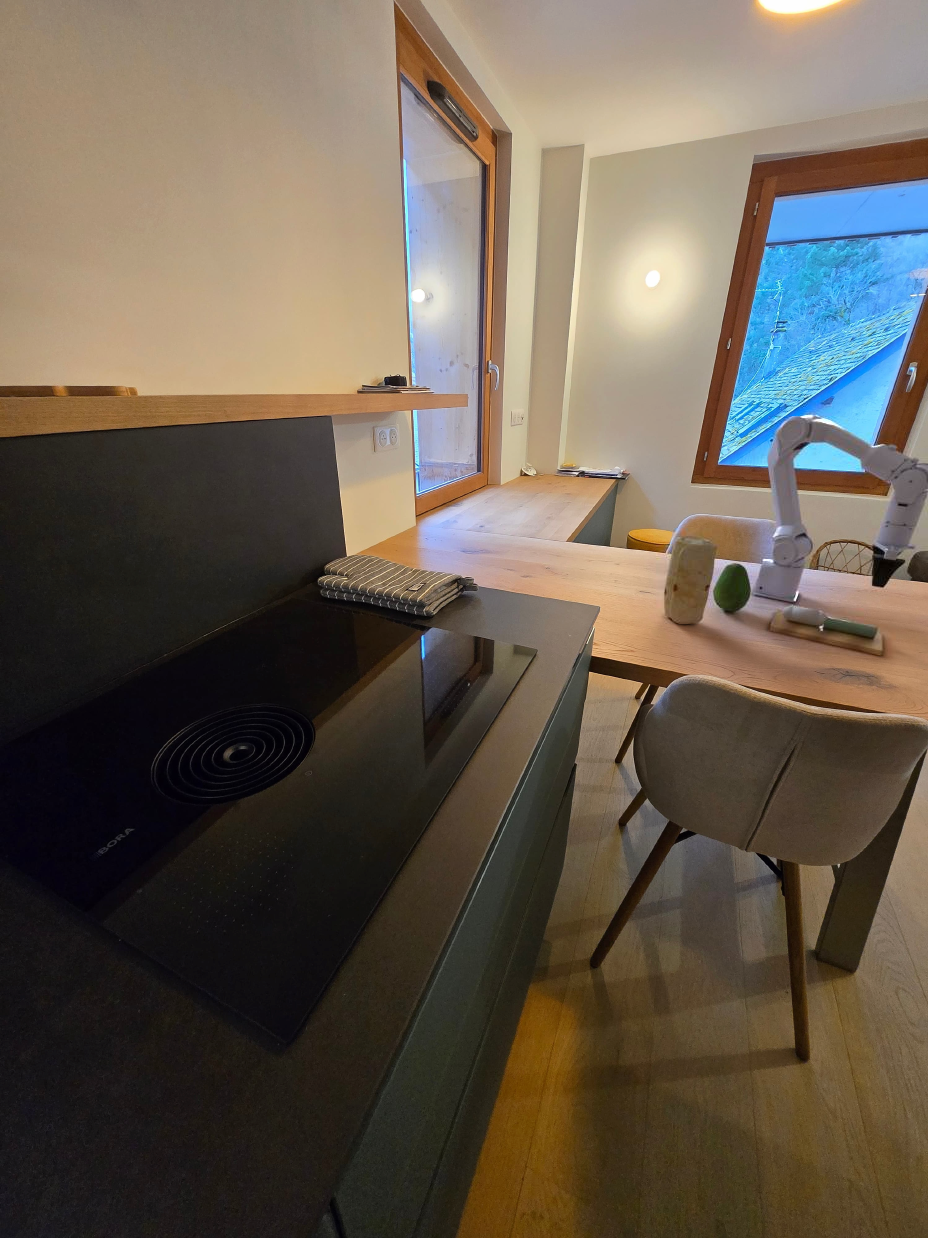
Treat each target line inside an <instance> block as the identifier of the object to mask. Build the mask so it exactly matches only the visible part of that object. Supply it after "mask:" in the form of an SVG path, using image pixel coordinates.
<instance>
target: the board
mask: <svg viewBox="0 0 928 1238" xmlns="http://www.w3.org/2000/svg"><path fill="white" fill-rule="evenodd" d="M782 611H783V609H778V608H777V609H776V612H775V614H774V616H773V619H772V622H771V624H770V626H769V627H770V628H769V631H770V632H773V633H774V632H775V633H778V634H782V635H787V636H792V637H795V638H796V637H797V638H801V639H805V640H808V641H809V640H810V641H813V642H818V643H823V644H827V645H832V646H836V647H839V648H845V649H849V650H854V651H858V652H863V653H867V654H871V655H876V656H881V655H882V653H883V630H881V629H878V630H877V633H876V636H875V638H874V639H872V638H868V637H863V636H858V635H854V634H849V633H844V632H840V631H835V630H830V629H826V628H823V626H824V625H823V626H819V627H816V626H811V625H806V624H802V623H797V622H792V621H788V620H786V619H785V618H784V617H783V615H782Z"/></svg>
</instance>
